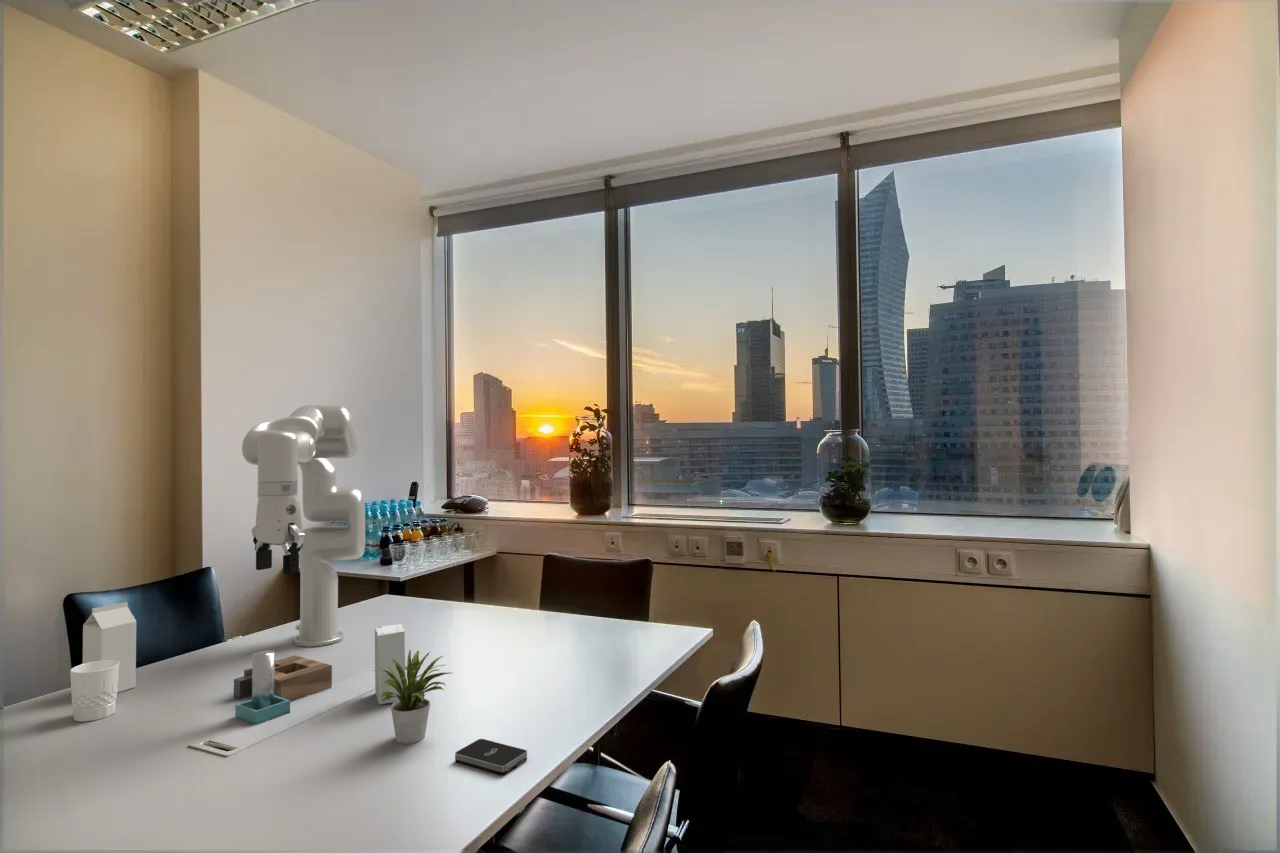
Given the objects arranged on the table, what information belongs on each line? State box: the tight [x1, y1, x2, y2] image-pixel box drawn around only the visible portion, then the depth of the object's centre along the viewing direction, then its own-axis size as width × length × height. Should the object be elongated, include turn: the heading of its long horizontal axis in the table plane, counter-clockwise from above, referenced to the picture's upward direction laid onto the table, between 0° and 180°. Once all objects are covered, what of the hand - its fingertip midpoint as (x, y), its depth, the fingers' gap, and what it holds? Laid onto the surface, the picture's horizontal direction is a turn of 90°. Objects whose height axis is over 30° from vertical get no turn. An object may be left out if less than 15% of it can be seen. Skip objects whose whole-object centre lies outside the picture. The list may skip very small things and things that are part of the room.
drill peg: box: [251, 649, 276, 710], centre depth 143 cm, size 4×4×12 cm
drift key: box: [233, 674, 252, 701], centre depth 155 cm, size 2×8×4 cm, turn 148°
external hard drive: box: [454, 738, 528, 777], centre depth 122 cm, size 7×11×2 cm, turn 62°
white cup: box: [70, 660, 119, 723], centre depth 143 cm, size 8×8×10 cm
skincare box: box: [374, 623, 407, 705], centre depth 153 cm, size 8×6×15 cm
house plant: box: [372, 649, 452, 745], centre depth 131 cm, size 14×14×16 cm
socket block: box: [243, 655, 333, 702], centre depth 157 cm, size 14×12×5 cm
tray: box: [234, 695, 291, 725], centre depth 143 cm, size 7×7×2 cm
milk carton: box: [82, 601, 137, 693], centre depth 157 cm, size 7×7×19 cm
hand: (277, 571), depth 148 cm, fingers open, 9 cm apart
